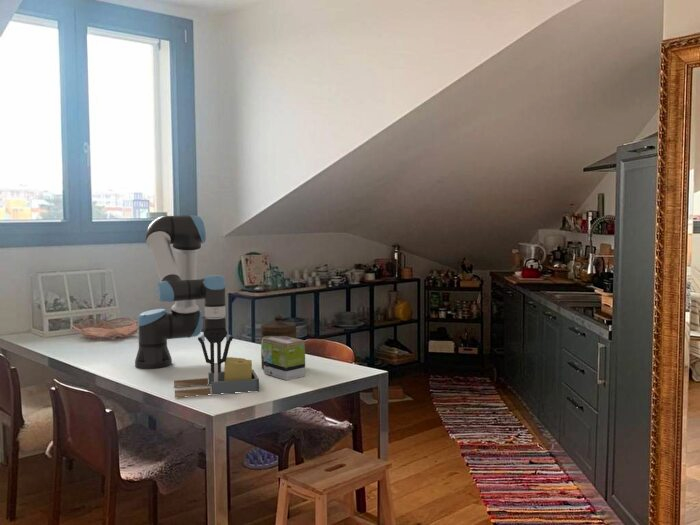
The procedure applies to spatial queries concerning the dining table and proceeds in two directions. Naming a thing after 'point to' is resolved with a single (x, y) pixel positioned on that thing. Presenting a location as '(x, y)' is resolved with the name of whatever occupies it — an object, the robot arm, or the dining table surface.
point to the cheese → (238, 369)
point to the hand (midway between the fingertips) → (216, 381)
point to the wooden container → (276, 331)
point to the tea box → (284, 357)
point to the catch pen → (233, 384)
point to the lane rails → (191, 391)
